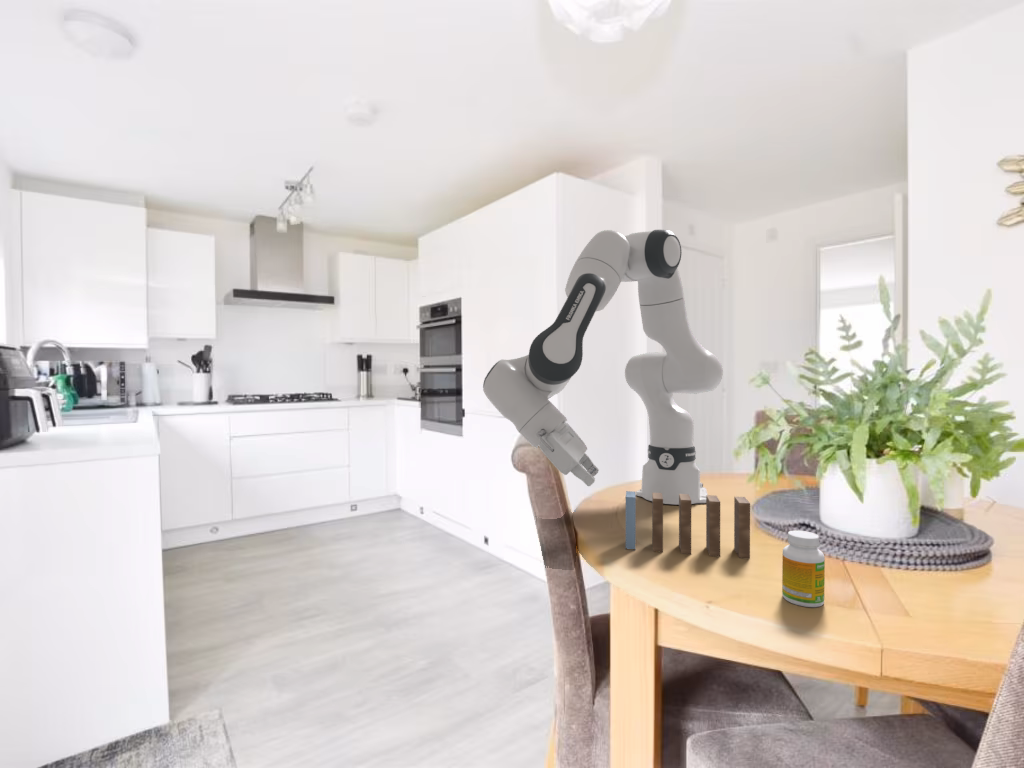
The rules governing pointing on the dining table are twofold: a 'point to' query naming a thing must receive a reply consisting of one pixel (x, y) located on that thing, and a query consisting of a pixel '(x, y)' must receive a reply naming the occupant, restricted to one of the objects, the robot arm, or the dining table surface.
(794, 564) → the supplement bottle
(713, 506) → the domino
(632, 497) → the domino
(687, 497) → the domino
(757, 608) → the dining table surface
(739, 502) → the domino
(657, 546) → the domino
